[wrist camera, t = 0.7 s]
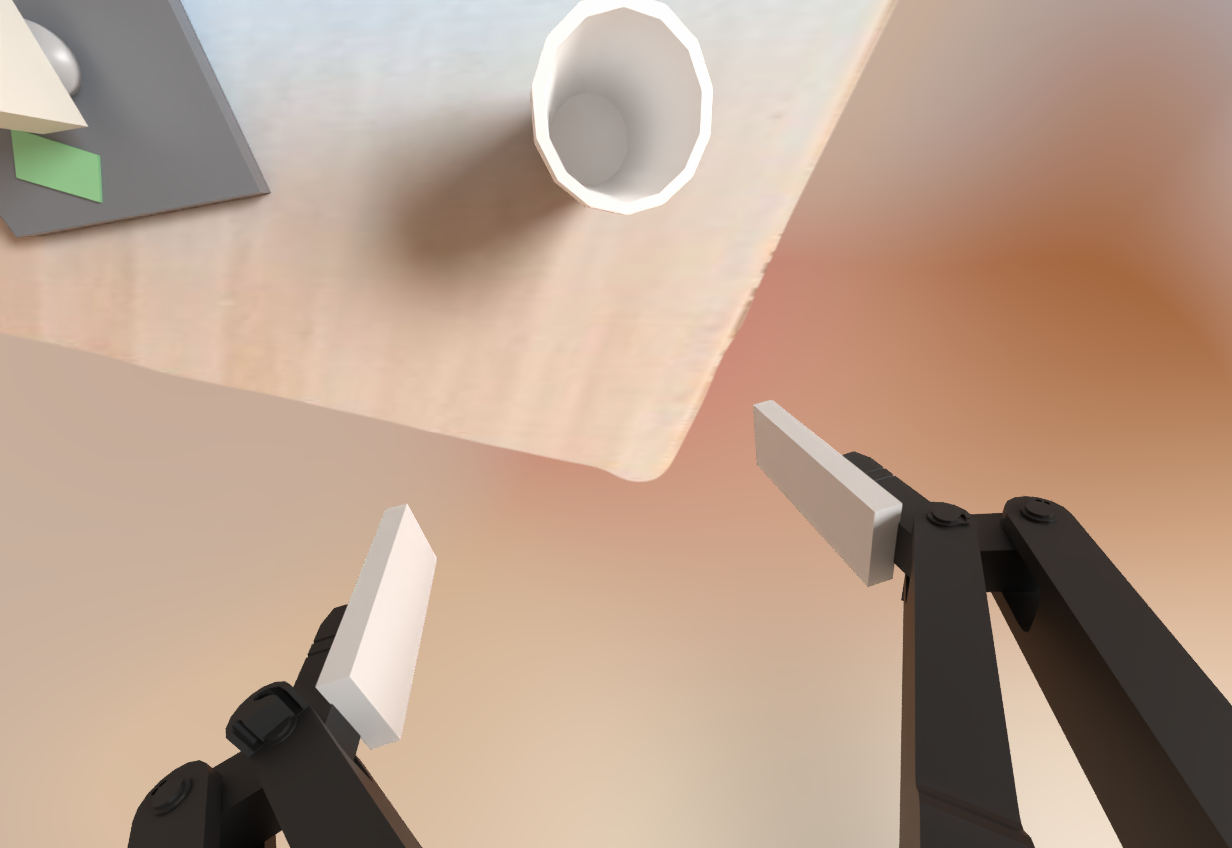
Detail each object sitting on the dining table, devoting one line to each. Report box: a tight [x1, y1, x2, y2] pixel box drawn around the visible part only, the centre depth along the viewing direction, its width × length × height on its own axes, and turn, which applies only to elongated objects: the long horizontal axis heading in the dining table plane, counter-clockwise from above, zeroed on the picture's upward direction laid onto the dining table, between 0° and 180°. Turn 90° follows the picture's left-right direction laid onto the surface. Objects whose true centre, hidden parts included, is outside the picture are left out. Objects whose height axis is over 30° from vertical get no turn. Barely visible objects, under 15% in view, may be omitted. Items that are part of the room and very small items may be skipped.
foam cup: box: [530, 0, 713, 215], centre depth 29 cm, size 10×9×13 cm
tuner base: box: [0, 0, 271, 237], centre depth 27 cm, size 16×15×2 cm
